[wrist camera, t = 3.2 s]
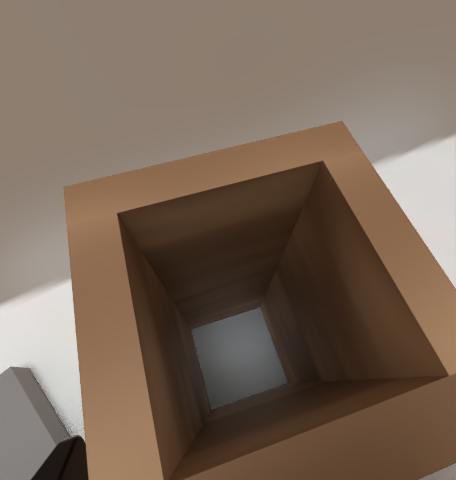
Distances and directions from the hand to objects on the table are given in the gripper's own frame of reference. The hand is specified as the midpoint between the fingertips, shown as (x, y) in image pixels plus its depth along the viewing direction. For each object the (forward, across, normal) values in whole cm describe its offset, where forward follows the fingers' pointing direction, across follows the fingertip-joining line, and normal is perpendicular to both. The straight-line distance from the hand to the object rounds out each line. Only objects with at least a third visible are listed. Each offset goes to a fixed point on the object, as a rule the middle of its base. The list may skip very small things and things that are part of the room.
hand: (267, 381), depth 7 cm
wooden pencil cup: (+7, 0, +5) cm, 9 cm away
